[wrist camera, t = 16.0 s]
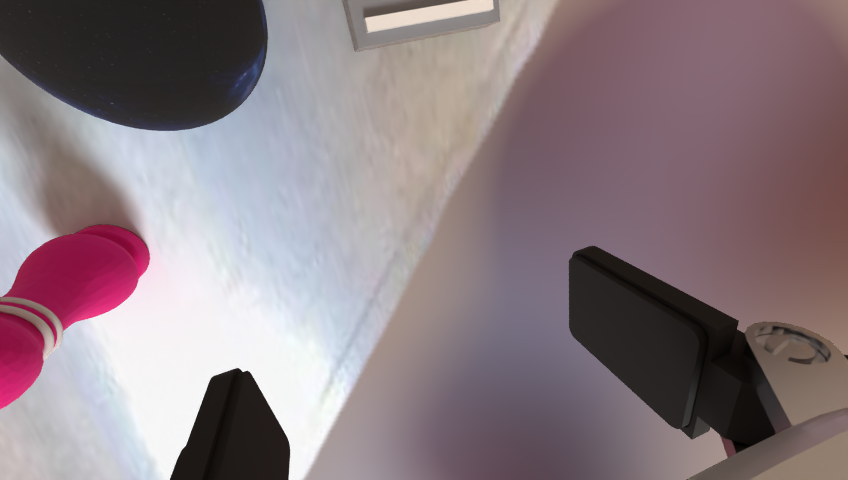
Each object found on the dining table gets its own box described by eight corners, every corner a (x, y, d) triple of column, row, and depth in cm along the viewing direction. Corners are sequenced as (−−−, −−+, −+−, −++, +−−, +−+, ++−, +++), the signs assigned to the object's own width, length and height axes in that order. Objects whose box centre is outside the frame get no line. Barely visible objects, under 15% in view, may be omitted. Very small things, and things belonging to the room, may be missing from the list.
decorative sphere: (94, 119, 29) (-90, 136, 16) (30, -110, 24) (-332, -377, 10) (283, 127, 34) (264, 146, 20) (267, -64, 28) (227, -210, 15)
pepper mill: (43, 237, 31) (-313, 420, 13) (124, 207, 32) (-108, 341, 14) (100, 297, 34) (-126, 509, 17) (172, 269, 35) (31, 440, 18)
